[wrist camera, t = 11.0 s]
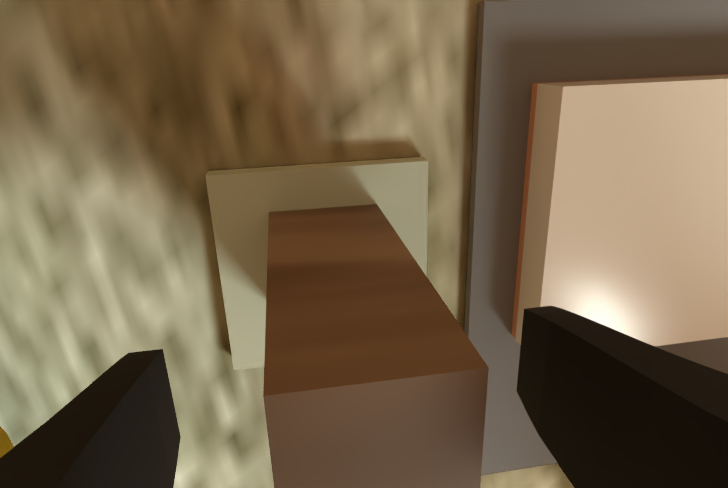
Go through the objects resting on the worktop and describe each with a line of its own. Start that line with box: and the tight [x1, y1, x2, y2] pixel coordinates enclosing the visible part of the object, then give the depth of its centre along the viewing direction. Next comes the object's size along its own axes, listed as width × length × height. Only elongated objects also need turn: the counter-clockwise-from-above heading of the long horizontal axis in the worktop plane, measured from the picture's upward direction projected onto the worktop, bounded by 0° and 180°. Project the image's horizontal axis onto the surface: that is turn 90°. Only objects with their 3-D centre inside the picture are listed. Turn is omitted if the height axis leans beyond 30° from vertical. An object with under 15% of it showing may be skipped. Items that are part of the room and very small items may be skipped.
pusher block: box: [264, 204, 489, 488], centre depth 11 cm, size 3×3×8 cm
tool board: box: [205, 157, 428, 370], centre depth 15 cm, size 6×6×1 cm
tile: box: [512, 74, 728, 346], centre depth 15 cm, size 2×8×8 cm
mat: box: [464, 0, 728, 475], centre depth 17 cm, size 16×11×1 cm
